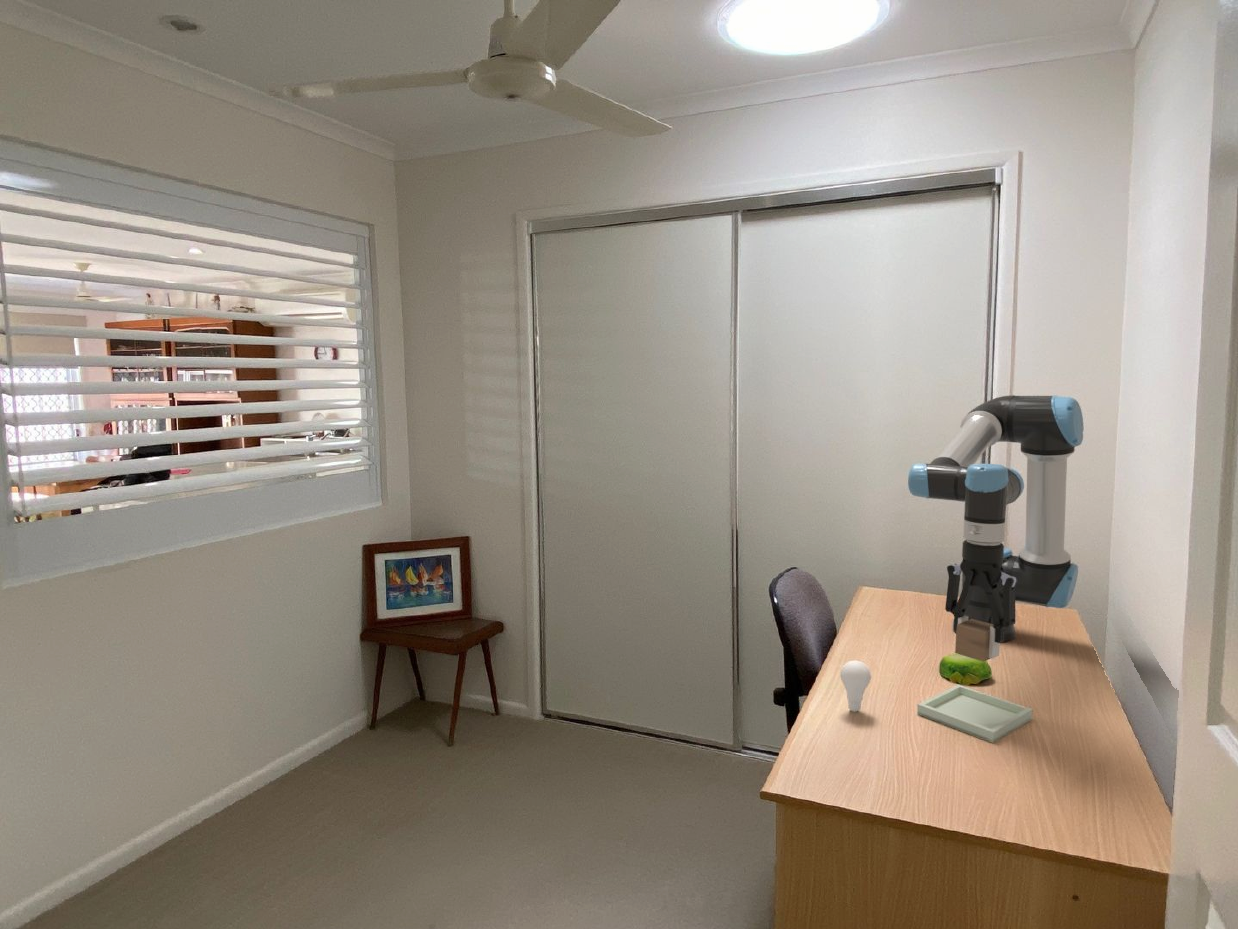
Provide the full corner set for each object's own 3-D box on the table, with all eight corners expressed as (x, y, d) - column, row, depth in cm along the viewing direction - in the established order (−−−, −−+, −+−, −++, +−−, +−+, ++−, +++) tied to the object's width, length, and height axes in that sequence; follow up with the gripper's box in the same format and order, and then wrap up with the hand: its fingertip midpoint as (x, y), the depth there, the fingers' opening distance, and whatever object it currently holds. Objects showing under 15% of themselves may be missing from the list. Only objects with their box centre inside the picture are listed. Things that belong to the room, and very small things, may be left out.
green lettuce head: (996, 688, 176) (997, 666, 175) (945, 684, 178) (946, 663, 177) (982, 668, 187) (983, 648, 186) (934, 666, 189) (935, 646, 188)
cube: (970, 646, 163) (971, 618, 163) (998, 654, 159) (1000, 626, 158) (955, 653, 160) (956, 624, 159) (983, 661, 155) (985, 632, 154)
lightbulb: (869, 707, 166) (871, 657, 165) (869, 719, 160) (871, 668, 159) (840, 703, 168) (841, 654, 167) (838, 715, 162) (839, 665, 161)
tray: (957, 693, 172) (958, 684, 172) (1032, 719, 160) (1032, 709, 159) (917, 714, 162) (917, 704, 162) (993, 743, 150) (993, 732, 150)
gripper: (929, 536, 161) (924, 643, 164) (1022, 553, 146) (1015, 670, 149) (948, 531, 166) (943, 635, 169) (1041, 547, 151) (1033, 661, 154)
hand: (977, 651), depth 159 cm, fingers closed on cube, 6 cm apart
